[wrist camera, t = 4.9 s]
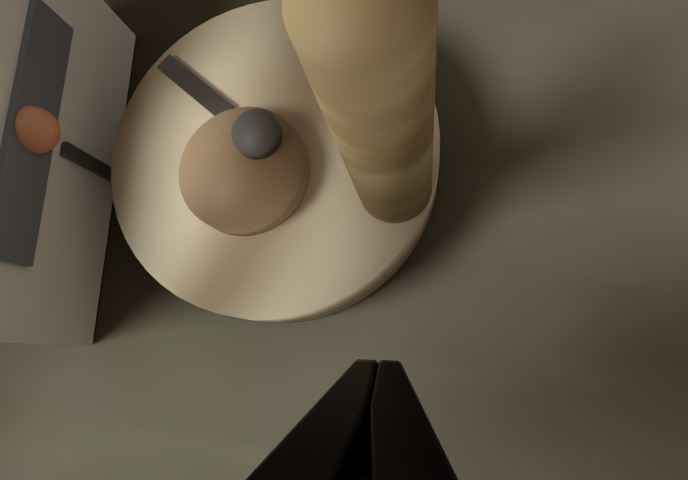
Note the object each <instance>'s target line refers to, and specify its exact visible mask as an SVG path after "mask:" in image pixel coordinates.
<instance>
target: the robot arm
mask: <svg viewBox="0 0 688 480" xmlns="http://www.w3.org/2000/svg"><path fill="white" fill-rule="evenodd" d="M246 480H458V478H457V476H456V474H455V472H454V470H453V468H452V466H451V464H450V462H449V460H448V458H447V456H446V454H445V452H444V450H443V448H442V446H441V444H440V442H439V440H438V438H437V436H436V433H435V431H434V429H433V427H432V425H431V423H430V421H429V419H428V417H427V415H426V413H425V411H424V409H423V407H422V405H421V403H420V401H419V399H418V397H417V395H416V393H415V391H414V389H413V386H412V384H411V382H410V380H409V378H408V376H407V374H406V372H405V370H404V368H403V366H402V364H401V363H400V362H399V361H390V360H381V361H379V363H377V361H376V360H361V359H358V360H356V361H355V362H354V363H353V364H352V365H351V366H350V367H349V368H348V369H347V370H346V371H345V372H344V373H343V375H342V376H341V377H340V378H339V379H338V380H337V381H336V382H335V383H334V384H333V385H332V386H331V388H330V389H329V390H328V391H327V392H326V393H325V394H324V395H323V396H322V397H321V398H320V399H319V401H318V402H317V403H316V404H315V405H314V406H313V407H312V408H311V409H310V410H309V411H308V413H307V414H306V415H305V416H304V417H303V418H302V419H301V420H300V421H299V422H298V423H297V424H296V426H295V427H294V428H293V429H292V430H291V431H290V432H289V433H288V434H287V435H286V436H285V438H284V439H283V440H282V441H281V442H280V443H279V444H278V445H277V446H276V447H275V448H274V449H273V451H272V452H271V453H270V454H269V455H268V456H267V457H266V458H265V459H264V460H263V461H262V463H261V464H260V465H259V466H258V467H257V468H256V469H255V470H254V471H253V472H252V473H251V474H250V476H249V477H248V478H247V479H246Z"/></svg>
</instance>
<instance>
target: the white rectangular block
mask: <svg viewBox="0 0 688 480" xmlns="http://www.w3.org/2000/svg"><path fill="white" fill-rule="evenodd" d="M135 38H136V36H135V34H134V33H133V32H132V31H131V30H130V29H129V28H128V27H127V26H126V25H125V24H124V22H123V21H122V20H121V19H120V18H119V17H118V16H117V15H116V14H115V13H114V12H113V11H112V9H111V8H110V7H109V6H108V5H107V4H106V3H105V2H104V1H103V0H0V343H47V344H93V337H94V330H95V322H96V315H97V308H98V301H99V294H100V287H101V280H102V273H103V266H104V258H105V251H106V244H107V237H108V230H109V223H110V216H111V209H112V202H113V195H112V184H111V167H112V155H113V149H114V143H115V138H116V135H117V132H118V128H119V125H120V121H121V119H122V116H123V114H124V112H125V109H126V102H127V95H128V88H129V81H130V74H131V67H132V59H133V52H134V45H135Z"/></svg>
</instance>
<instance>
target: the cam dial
mask: <svg viewBox="0 0 688 480" xmlns="http://www.w3.org/2000/svg"><path fill="white" fill-rule="evenodd" d="M437 21H438V0H269V1H263V2H258V3H253V4H249V5H246V6H242V7H239V8H236V9H233V10H230V11H228V12H225V13H223V14H221V15H218V16H216V17H214V18H212V19H210V20H208V21H207V22H205V23H203V24H201V25H200V26H198V27H196V28H195V29H193V30H192V31H190V32H189V33H188V34H186V35H185V36H183V37H182V38H181V39H179V40H178V41H177V42H176V43H175V44H174V45H172V46H171V47H170V48H169V49H168V50H167V51H166V52H165V53H164V54H163V55H162V56H161V57H160V58H159V59H158V60H157V61H156V62H155V64H154V65H153V66H152V67H151V68H150V69H149V71H148V72H147V73H146V75H145V76H144V78H143V79H142V80H141V82H140V83H139V85H138V86H137V88H136V90H135V92H134V93H133V95H132V97H131V99H130V100H129V102H128V105H127V107H126V109H125V112H124V114H123V116H122V119H121V121H120V125H119V128H118V132H117V135H116V138H115V143H114V149H113V155H112V167H111V184H112V195H113V202H114V206H115V211H116V215H117V219H118V222H119V224H120V227H121V229H122V232H123V235H124V237H125V239H126V241H127V243H128V244H129V246H130V248H131V250H132V252H133V253H134V255H135V256H136V258H137V259H138V260H139V262H140V263H141V264H142V265H143V267H144V268H145V269H146V271H147V272H148V273H149V274H151V275H152V276H153V277H154V278H155V279H156V280H157V281H158V282H159V283H160V284H161V285H162V286H164V287H165V288H166V289H168V290H169V291H170V292H172V293H173V294H175V295H176V296H177V297H179V298H181V299H183V300H185V301H187V302H189V303H191V304H193V305H195V306H197V307H199V308H202V309H205V310H208V311H211V312H214V313H217V314H222V315H227V316H232V317H238V318H243V319H249V320H254V321H260V322H269V323H292V322H303V321H308V320H313V319H317V318H321V317H325V316H328V315H331V314H333V313H336V312H339V311H341V310H344V309H346V308H348V307H350V306H352V305H354V304H356V303H357V302H359V301H361V300H363V299H365V298H366V297H367V296H369V295H370V294H372V293H373V292H374V291H376V290H377V289H379V288H380V287H381V286H382V285H383V284H384V283H385V282H387V281H388V280H389V279H390V278H391V277H392V276H393V275H394V274H395V273H396V272H397V271H398V270H399V269H400V267H401V266H402V265H403V264H404V262H405V261H406V260H407V259H408V258H409V256H410V255H411V253H412V252H413V250H414V248H415V247H416V245H417V244H418V242H419V240H420V239H421V237H422V235H423V232H424V230H425V228H426V226H427V224H428V221H429V219H430V216H431V212H432V209H433V205H434V202H435V197H436V191H437V184H438V174H439V160H440V129H439V121H438V114H437V109H436V106H435V80H436V51H437Z"/></svg>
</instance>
